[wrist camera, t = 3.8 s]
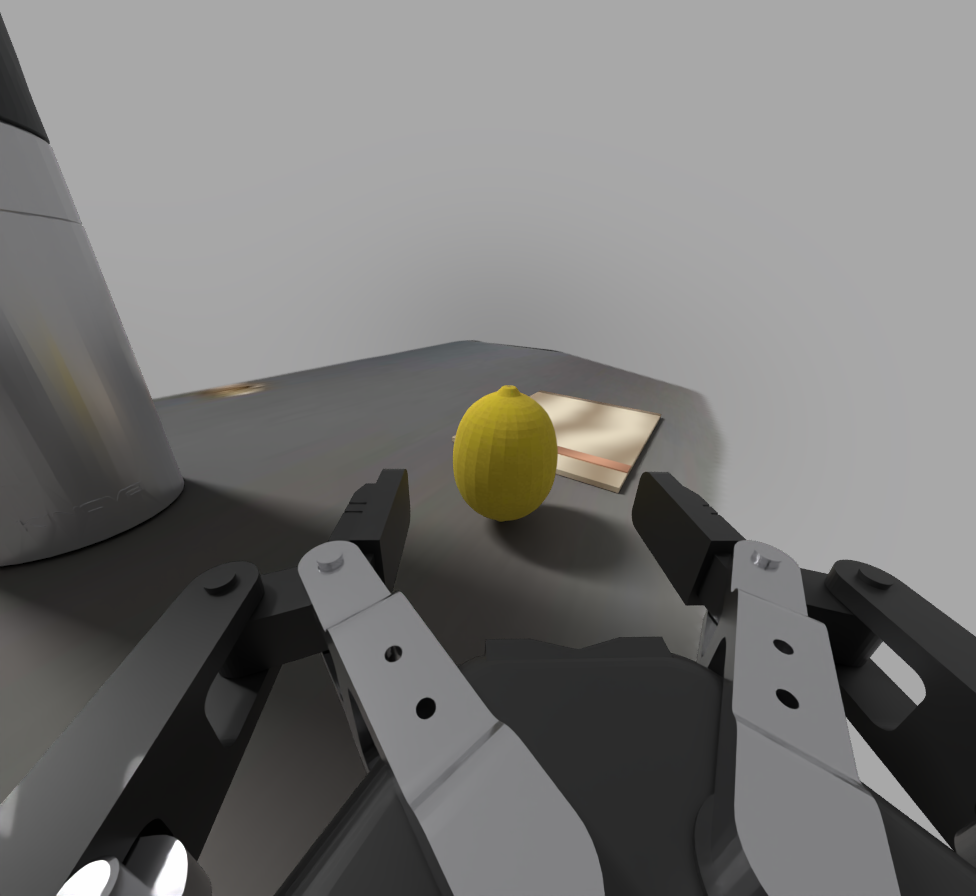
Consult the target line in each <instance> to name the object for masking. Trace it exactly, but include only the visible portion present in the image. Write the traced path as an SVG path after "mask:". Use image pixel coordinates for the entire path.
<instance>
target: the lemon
mask: <svg viewBox="0 0 976 896" xmlns="http://www.w3.org/2000/svg"><path fill="white" fill-rule="evenodd" d="M557 460H558V448H557V439H556V434H555V430H554V427H553V424H552V421H551V419H550V417H549V415H548V413H547V412H546V411H545V409H544V408H543V407H542V406H541V405H540V404H539V403H537V402H536V401H535V400H534V399H532V398H531V397H529V396H527V395H525V394H522V393H520V392H519V391H518V389H517V388H516V387H515V386H510V385H506V386H502V387H501V389H500V390H499V391H498V392H494V393H491V394H488V395H486V396H484V397H482V398H481V399H479V400H478V401H477V402H475V403H474V404H473V405H472V406H471V407H470V408H469V409H468V410H467V412H466V413H465V415H464V416H463V418H462V420H461V422H460V424H459V427H458V430H457V433H456V437H455V442H454V449H453V469H454V476H455V481H456V484H457V487H458V489H459V491H460V493H461V495H462V497H463V499H464V500H465V501H466V503H467V504H468V505H469V506H470V507H471V508H472V509H473V510H475V511H476V512H477V513H479V514H481V515H483V516H484V517H487V518H490V519H493V520H497V521H499V522H504V521H510V520H516V519H519V518H522V517H524V516H526V515H528V514H530V513H531V512H533V511H534V510H536V509H537V508H538V507H539V506H540V505H541V504H542V502H543V501H544V500H545V498H546V497H547V495H548V494H549V492H550V490H551V488H552V485H553V482H554V478H555V474H556V468H557Z"/></svg>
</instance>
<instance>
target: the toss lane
mask: <svg viewBox="0 0 976 896" xmlns="http://www.w3.org/2000/svg"><path fill="white" fill-rule="evenodd" d="M530 397H531V398H532V399H534V400H535V401H536V402H537V403H539V404H540V405H541V406H542V407H543V408H544V409H545V411H546V412H547V413H548V415H549V417H550V419H551V421H552V424H553V427H554V430H555V434H556V439H557V448H558V460H557V468H556V474H558V475H561V476H565V477H568V478H571V479H574V480H578V481H581V482H584V483H587V484H590V485H594V486H597V487H600V488H603V489H606V490H610V491H613V492H616V493H618V492H619V491H620V489H621V487H622V485H623V484H624V482H625V480H626V478H627V476H628V475H629V473H630V471H631V469H632V468H633V466H634V464H635V462H636V460H637V459H638V457H639V455H640V453H641V451H642V450H643V448H644V446H645V444H646V443H647V441H648V439H649V437H650V435H651V434H652V432H653V430H654V428H655V426H656V425H657V423H658V421H659V419H660V417H661V414H658V413H653V412H648V411H643V410H638V409H633V408H627V407H622V406H617V405H612V404H607V403H602V402H597V401H592V400H586V399H581V398H576V397H571V396H566V395H561V394H556V393H551V392H546V391H539V392H537V393H535V394H533V395H531V396H530ZM455 437H456V435H455V436H454V437H452V442H455Z"/></svg>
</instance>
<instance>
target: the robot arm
mask: <svg viewBox="0 0 976 896" xmlns="http://www.w3.org/2000/svg"><path fill="white" fill-rule="evenodd" d="M49 144H50V143H49V139H48V137H47V134H46V132H45V129H44V127H43V125H42V122H41V119H40V117H39V115H38V112H37V110H36V107H35V105H34V102H33V100H32V97H31V94H30V92H29V89H28V86H27V83H26V81H25V78H24V75H23V72H22V70H21V66H20V64H19V61H18V58H17V55H16V53H15V50H14V47H13V45H12V42H11V40H10V37H9V34H8V32H7V29H6V27H5V24H4V21H3V19H2V16H1V14H0V566H6V565H14V564H20V563H25V562H30V561H34V560H39V559H44V558H48V557H52V556H55V555H59V554H62V553H66V552H69V551H73V550H76V549H80V548H82V547H85V546H88V545H91V544H94V543H96V542H99V541H102V540H105V539H107V538H110V537H112V536H114V535H117V534H119V533H121V532H123V531H126V530H128V529H130V528H132V527H134V526H136V525H138V524H140V523H142V522H144V521H145V520H147V519H149V518H151V517H153V516H154V515H156V514H157V513H159V512H160V511H162V510H163V509H165V508H166V507H167V506H169V505H170V504H171V503H172V502H173V501H174V500H175V499H176V498H177V497H178V496H179V494H180V493H181V492H182V490H183V487H184V480H183V478H182V475H181V473H180V470H179V468H178V465H177V462H176V460H175V457H174V455H173V452H172V450H171V447H170V445H169V442H168V439H167V437H166V434H165V432H164V429H163V427H162V423H161V421H160V418H159V416H158V413H157V411H156V408H155V405H154V403H153V400H152V398H151V396H150V393H149V390H148V388H147V385H146V383H145V380H144V378H143V375H142V373H141V370H140V368H139V365H138V363H137V360H136V358H135V355H134V352H133V350H132V348H131V345H130V343H129V340H128V337H127V335H126V332H125V330H124V327H123V325H122V322H121V320H120V317H119V315H118V312H117V310H116V307H115V304H114V302H113V300H112V297H111V294H110V292H109V289H108V287H107V284H106V282H105V279H104V277H103V274H102V272H101V269H100V267H99V264H98V262H97V259H96V257H95V254H94V251H93V249H92V246H91V244H90V241H89V239H88V237H87V234H86V231H85V229H84V227H83V226H82V222H81V220H80V217H79V215H78V212H77V210H76V207H75V205H74V202H73V200H72V197H71V195H70V192H69V189H68V187H67V184H66V182H65V179H64V177H63V175H62V172H61V170H60V167H59V164H58V162H57V159H56V157H55V154H54V152H53V149H52V147H51V146H50V145H49ZM632 521H633V525H634V527H635V529H636V530H637V532H638V533H639V535H640V536H641V538H642V539H643V541H644V542H645V544H646V546H647V547H648V549H649V550H650V552H651V553H652V555H653V556H654V558H655V559H656V561H657V562H658V564H659V565H660V567H661V568H662V570H663V571H664V573H665V574H666V576H667V578H668V579H669V581H670V582H671V584H672V585H673V587H674V588H675V590H676V591H677V593H678V594H679V596H680V597H681V599H682V600H683V602H684V603H685V605H704V606H705V607H706V608H707V610H706V613H705V615H704V618H703V623H702V629H701V635H700V642H699V648H698V654H697V661H696V662H695V661H692V660H690V659H688V658H685V657H682V656H679V655H676V654H673V653H670V651H669V650H668V648H667V646H666V644H665V642H664V640H663V638H662V637H619V638H616V639H612V640H609V641H606V642H602V643H599V644H596V645H592V646H589V647H586V648H582V649H573V648H568V647H564V646H560V645H555V644H551V643H546V642H542V641H537V640H533V639H486V643H485V655H482V656H479V657H476V658H474V659H472V660H469V661H467V662H465V663H463V664H462V665H460V666H458V667H457V666H456V665H455V664H454V662H453V661H452V659H451V658H450V657H449V655H448V654H447V653H446V651H445V650H444V649H443V647H442V646H441V645H440V643H439V642H438V640H437V639H436V638H435V636H434V635H433V634H432V632H431V631H430V630H429V628H428V627H427V626H426V624H425V623H424V621H423V620H422V619H421V617H420V616H419V615H418V613H417V612H416V611H415V609H414V608H413V607H412V605H411V604H410V602H409V601H408V600H407V598H406V597H405V596H404V595H403V594H402V593H401V592H400V591H396V592H394V593H392V591H393V587H394V583H395V579H396V575H397V571H398V567H399V564H400V560H401V556H402V552H403V548H404V544H405V540H406V536H407V532H408V528H409V523H410V499H409V486H408V474H407V470H406V469H383V470H382V472H381V474H380V476H379V478H378V480H377V482H376V484H365V485H364V486H362V487H361V488H360V489H358V490H357V491H356V492H355V493H354V495H353V497H352V498H351V500H350V502H349V504H348V506H347V507H346V509H345V513H343V515H342V516H341V518H340V520H339V522H338V524H337V526H336V527H335V529H334V531H333V533H332V535H331V536H330V538H329V540H328V542H327V543H324V544H321V545H319V546H317V547H315V548H313V549H311V550H310V551H309V552H307V553H306V554H305V555H304V556H303V558H302V559H301V561H300V562H299V565H298V566H296V567H293V568H289V569H285V570H281V571H277V572H272V573H268V574H264V575H260V574H259V571H258V568H257V567H256V565H254V564H253V563H250V562H246V561H234V562H228V563H225V564H221V565H218V566H216V567H213V568H211V569H209V570H207V571H205V572H204V573H202V574H200V575H199V576H197V577H196V578H195V579H194V580H192V581H191V582H190V583H189V584H188V585H187V587H186V588H185V589H184V590H183V591H182V592H181V594H180V595H179V596H178V597H177V598H176V599H175V601H174V602H173V603H172V604H171V605H170V607H169V608H168V609H167V610H166V611H165V612H164V614H163V615H162V616H161V617H160V618H159V619H158V621H157V622H156V623H155V624H154V625H153V627H152V628H151V629H150V630H149V631H148V632H147V634H146V635H145V636H144V637H143V638H142V639H141V641H140V642H139V643H138V644H137V645H136V647H135V648H134V649H133V650H132V651H131V652H130V654H129V655H128V656H127V657H126V658H125V659H124V661H123V662H122V663H121V664H120V665H119V667H118V668H117V669H116V670H115V671H114V672H113V674H112V675H111V676H110V677H109V678H108V679H107V681H106V682H105V683H104V684H103V685H102V687H101V688H100V689H99V690H98V691H97V692H96V694H95V695H94V696H93V697H92V698H91V699H90V701H89V702H88V703H87V704H86V705H85V706H84V708H83V709H82V710H81V711H80V712H79V714H78V715H77V716H76V717H75V718H74V719H73V721H72V722H71V723H70V724H69V725H68V726H67V728H66V729H65V730H64V731H63V732H62V734H61V735H60V736H59V737H58V738H57V739H56V741H55V742H54V743H53V744H52V745H51V746H50V748H49V749H48V750H47V751H46V752H45V754H44V755H43V756H42V757H41V758H40V759H39V761H38V762H37V763H36V764H35V765H34V766H33V768H32V769H31V770H30V771H29V772H28V774H27V775H26V776H25V777H24V778H23V779H22V781H21V782H20V783H19V784H18V785H17V786H16V788H15V789H14V790H13V791H12V792H11V794H10V795H9V796H8V797H7V798H6V799H5V801H4V802H3V803H2V804H1V805H0V896H212V887H211V882H210V879H209V877H208V875H207V873H206V872H205V871H204V870H203V868H202V867H201V866H200V865H199V864H198V862H197V861H198V858H199V856H200V854H201V851H202V849H203V847H204V844H205V842H206V840H207V837H208V835H209V833H210V830H211V828H212V826H213V823H214V821H215V819H216V816H217V814H218V812H219V810H220V807H221V805H222V803H223V800H224V798H225V796H226V793H227V791H228V789H229V786H230V784H231V782H232V779H233V777H234V775H235V772H236V770H237V768H238V765H239V763H240V761H241V758H242V756H243V754H244V751H245V749H246V747H247V745H248V742H249V740H250V738H251V735H252V733H253V731H254V728H255V726H256V724H257V721H258V719H259V717H260V714H261V712H262V710H263V707H264V705H265V703H266V700H267V698H268V696H269V693H270V691H271V689H272V686H273V684H274V682H275V680H276V677H277V675H278V673H279V670H280V668H281V666H282V664H285V663H288V662H291V661H295V660H298V659H301V658H304V657H307V656H310V655H314V654H317V653H321V656H322V658H323V661H324V663H325V665H326V668H327V670H328V673H329V675H330V678H331V680H332V683H333V685H334V687H335V690H336V692H337V695H338V697H339V700H340V702H341V705H342V707H343V710H344V712H345V715H346V717H347V720H348V723H349V726H350V729H351V732H352V735H353V738H354V741H355V744H356V747H357V749H358V752H359V754H360V757H361V759H362V762H363V764H364V767H365V769H366V772H367V776H366V777H365V778H364V779H363V781H362V782H361V783H360V785H359V786H358V787H357V788H356V790H355V791H354V792H353V794H352V795H351V796H350V797H349V799H348V800H347V801H346V803H345V804H344V805H343V807H342V808H341V809H340V810H339V812H338V813H337V814H336V816H335V817H334V818H333V819H332V821H331V822H330V823H329V825H328V826H327V827H326V828H325V830H324V831H323V832H322V834H321V835H320V836H319V838H318V839H317V840H316V841H315V843H314V844H313V845H312V847H311V848H310V849H309V850H308V852H307V853H306V854H305V856H304V857H303V858H302V860H301V861H300V862H299V863H298V865H297V866H296V867H295V869H294V870H293V871H292V872H291V874H290V875H289V876H288V878H287V879H286V880H285V881H284V883H283V884H282V885H281V887H280V888H279V889H278V891H277V892H276V893H275V894H274V896H976V637H975V636H974V635H973V634H971V633H970V632H969V631H967V630H966V629H965V628H963V627H962V626H960V625H959V624H958V623H956V622H955V621H954V620H952V619H951V618H950V617H948V616H947V615H946V614H944V613H943V612H942V611H940V610H939V609H937V608H936V607H935V606H934V605H932V604H931V603H930V602H928V601H927V600H925V599H924V598H923V597H921V596H920V595H919V594H917V593H916V592H915V591H913V590H912V589H910V588H909V587H908V586H907V585H905V584H904V583H903V582H901V581H900V580H898V579H897V578H895V577H894V576H892V575H890V574H889V573H886V572H885V571H883V570H881V569H878V568H876V567H873V566H871V565H868V564H865V563H861V562H858V561H853V560H839V561H837V562H835V564H834V565H833V567H832V569H831V570H830V572H829V574H825V573H821V572H816V571H811V570H806V569H802V568H800V567H799V566H798V564H797V563H796V562H795V561H794V560H793V559H792V558H791V557H790V556H789V555H787V554H786V553H784V552H783V551H781V550H779V549H777V548H775V547H773V546H770V545H768V544H765V543H762V542H758V541H752V540H746V539H745V538H744V537H743V536H741V535H740V534H739V533H738V532H737V531H736V530H735V529H734V528H733V527H732V526H731V525H730V524H729V523H728V522H727V521H726V520H725V519H724V518H723V517H722V516H720V515H718V513H717V512H716V511H715V510H714V509H713V508H712V507H709V504H708V503H707V502H706V501H705V500H704V499H703V498H702V497H700V496H699V495H698V494H696V493H695V492H693V491H691V490H689V489H688V488H686V487H684V486H682V485H681V484H680V483H679V482H678V481H677V480H676V479H675V478H674V477H673V476H672V475H671V474H670V473H668V472H644V473H643V474H642V475H641V478H640V481H639V485H638V489H637V493H636V497H635V501H634V505H633V508H632ZM883 641H884V642H885V643H886V644H887V645H888V646H889V647H890V648H891V649H892V650H893V651H894V652H895V653H896V654H897V655H899V656H900V657H901V658H902V659H903V660H904V661H905V662H906V663H907V664H908V665H909V666H910V667H912V668H913V669H914V670H915V671H916V673H917V674H918V675H919V676H920V678H921V679H922V681H923V683H924V685H925V689H926V696H925V699H924V700H923V701H922V702H921V703H920V704H919V705H918V706H917V705H916V704H915V703H914V702H913V701H912V700H911V699H910V698H909V697H908V696H907V695H906V694H905V693H904V692H903V691H902V690H901V689H900V688H899V687H898V686H897V685H896V684H895V683H894V682H893V681H892V680H891V679H890V678H889V677H888V676H887V675H886V674H885V673H884V672H883V671H882V670H881V669H880V668H879V667H878V666H877V665H876V664H875V663H874V662H873V661H872V660H871V659H870V657H871V655H872V654H873V653H874V652H875V650H876V649H877V648H878V647H879V646H880V644H881V643H882V642H883ZM845 716H846V717H847V719H848V720H849V721H850V722H851V723H852V725H853V726H854V727H855V729H856V730H857V731H858V732H859V734H860V735H861V736H862V737H863V739H864V740H865V741H866V742H867V743H868V745H869V746H870V747H871V749H872V750H873V751H874V752H875V754H876V755H877V756H878V757H879V758H880V760H881V761H882V762H883V764H884V765H885V766H886V767H887V768H888V770H889V771H890V772H891V773H892V775H893V776H894V777H895V778H896V780H897V781H898V782H899V783H900V785H901V786H902V787H903V788H904V790H905V791H906V792H907V793H908V795H909V796H910V797H911V798H912V800H913V801H914V802H915V803H916V805H917V806H918V807H919V808H920V810H921V811H922V812H923V813H924V815H925V816H926V817H927V818H928V820H929V821H930V822H931V823H932V825H933V826H934V827H935V828H936V830H938V832H939V833H940V834H941V836H942V837H943V838H944V839H945V841H946V842H947V843H948V844H949V846H950V847H951V848H952V849H953V850H952V849H950V848H949V847H948V846H946V845H945V844H944V843H942V842H941V841H940V840H938V839H937V838H935V837H934V836H933V835H931V834H930V833H929V832H928V831H926V830H925V829H924V828H922V827H921V826H920V825H918V824H917V823H916V822H914V821H913V820H912V819H910V818H909V817H908V816H906V815H905V814H904V813H902V812H901V811H900V810H898V809H897V808H896V807H894V806H893V805H892V804H890V803H889V802H888V801H886V800H885V799H884V798H882V797H881V796H880V795H878V794H877V793H875V792H874V791H873V790H872V789H870V788H869V787H868V786H866V785H865V784H864V783H862V782H861V781H860V780H859V777H858V773H857V769H856V765H855V759H854V755H853V750H852V746H851V741H850V736H849V731H848V726H847V722H846V717H845Z"/></svg>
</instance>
